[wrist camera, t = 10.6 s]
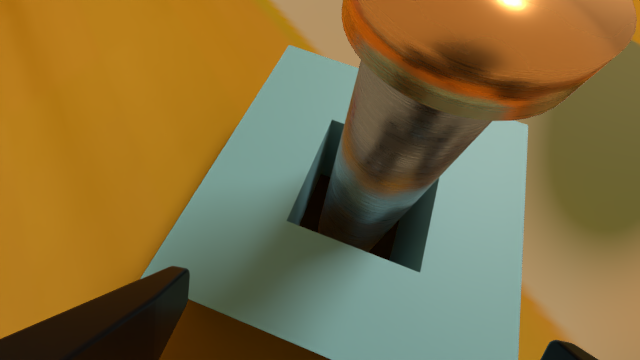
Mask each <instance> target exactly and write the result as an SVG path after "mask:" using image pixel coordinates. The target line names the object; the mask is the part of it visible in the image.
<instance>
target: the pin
mask: <svg viewBox="0 0 640 360" xmlns="http://www.w3.org/2000/svg"><path fill="white" fill-rule="evenodd" d="M636 21H637V20H636V11H635V7H634V4H633V1H632V0H343V4H342V22H343V27H344V31H345V33H346V36H347V38H348V41H349V42H350V44H351V46H352V47H353V49H354V51H355V53H356V54H357V55H358V56H359V58H360V59H361V63H360V66H359V70H358V74H357V78H356V82H355V85H354V89H353V93H352V97H351V101H350V105H349V108H348V112H347V116H346V120H345V124H344V128H343V132H342V135H341V139H340V143H339V147H338V151H337V155H336V159H335V162H334V166H333V170H332V174H331V178H330V182H329V186H328V189H327V193H326V197H325V201H324V205H323V209H322V212H321V216H320V220H319V228H318V229H319V234H322V235H324V236H327V237H329V238H332V239H335V240H337V241H340V242H342V243H345V244H347V245H350V246H353V247H355V248H358V249H360V250H363V251H365V252H369V251H370V250H371V249H372V248H373V247H374V246H375V245H376V243H377V242H378V241H379V240H380V239H381V238H382V237H383V236H384V235H385V234H386V233H387V232H388V231H389V230H390V229H391V228H392V227H393V226H394V224H395V223H396V222H397V221H398V220H399V219H400V218H401V217H402V216H403V215H404V214H405V213H406V212H407V211H408V210H409V209H410V208H411V207H412V205H413V204H414V203H415V202H416V201H417V200H418V199H419V198H420V197H421V196H422V195H423V194H424V193H425V192H426V191H427V190H428V189H429V188H430V186H431V185H432V184H433V183H434V182H435V181H436V180H437V179H438V178H439V177H440V176H441V175H442V174H443V173H444V172H445V171H446V170H447V169H448V167H449V166H450V165H451V164H452V163H453V162H454V161H455V160H456V159H457V158H458V157H459V156H460V155H461V154H462V153H463V152H464V151H465V150H466V148H467V147H468V146H469V145H470V144H471V143H472V142H473V141H474V140H475V139H476V138H477V137H478V136H479V135H480V134H481V133H482V132H483V131H484V129H485V128H486V127H487V126H488V125H489V124H490V123H491V122H492V121H513V120H519V119H526V118H530V117H533V116H537V115H540V114H543V113H545V112H547V111H549V110H551V109H553V108H555V107H556V106H557V105H558V104H560V103H561V102H563V101H564V100H565V99H566V98H567V97H568V96H570V95H571V94H572V93H573V92H574V91H576V90H577V89H578V88H579V87H580V86H582V85H583V84H584V83H585V82H586V81H587V80H589V79H590V78H591V77H592V76H593V75H594V74H596V73H597V72H598V71H599V70H600V69H601V68H603V67H604V66H605V65H606V64H607V63H608V62H610V61H611V60H612V59H613V58H614V57H615V56H617V55H618V54H619V53H620V52H621V51H622V50H623V49H624V48H625V47H626V46H627V45H628V44H629V42H630V41H631V39H632V37H633V35H634V32H635V28H636Z"/></svg>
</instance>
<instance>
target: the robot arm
mask: <svg viewBox="0 0 640 360" xmlns="http://www.w3.org/2000/svg"><path fill="white" fill-rule="evenodd" d="M189 280H190V272H189V270H188V269H187V268H183V267H178V266H170V267H168V268H165V269H163V270H161V271H158V272H156V273H154V274H151V275H149V276H147V277H144V278H142V279H140V280H137V281H135V282H133V283H130V284H128V285H126V286H123V287H121V288H119V289H116V290H114V291H112V292H109V293H107V294H105V295H102V296H100V297H97V298H95V299H93V300H90V301H88V302H86V303H83V304H81V305H79V306H76V307H74V308H72V309H69V310H67V311H65V312H62V313H60V314H58V315H55V316H53V317H51V318H48V319H46V320H44V321H41V322H39V323H37V324H34V325H32V326H30V327H27V328H25V329H23V330H20V331H18V332H16V333H13V334H11V335H9V336H6V337H4V338H2V339H0V360H159V358H160V356H161V354H162V352H163V350H164V348H165V346H166V344H167V342H168V340H169V338H170V336H171V334H172V332H173V330H174V328H175V326H176V324H177V322H178V321H179V319H180V317H181V315H182V313H183V311H184V309H185V307H186V304H187V301H188V294H189ZM541 360H598V359H596V358H595V357H593V356H592V355H590V354H589V353H587V352H585V351H584V350H582V349H581V348H579V347H578V346H576V345H574V344H572V343H569V342H564V341H559V340H553V341H551V342H550V343H549V344H548V346H547V348H546V350H545V352H544V354H543V356H542V358H541Z"/></svg>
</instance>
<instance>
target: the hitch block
mask: <svg viewBox="0 0 640 360" xmlns="http://www.w3.org/2000/svg"><path fill="white" fill-rule="evenodd" d="M358 70H359V68H356V67H353V66H350V65H347V64H344V63H341V62H338V61H335V60H332V59H329V58H326V57H323V56H320V55H317V54H314V53H311V52H308V51H305V50H303V49H300V48H297V47H294V46H291V45H289V46H288V48H287V49H286V51H285V52H284V54H283V55H282V57H281V59H280V60H279V62H278V63H277V65H276V66H275V68H274V70H273V71H272V73H271V74H270V76H269V77H268V79H267V81H266V82H265V84H264V85H263V87H262V88H261V90H260V92H259V93H258V95H257V96H256V98H255V99H254V101H253V102H252V104H251V106H250V107H249V109H248V110H247V112H246V113H245V115H244V117H243V118H242V120H241V121H240V123H239V124H238V126H237V128H236V129H235V131H234V132H233V134H232V135H231V137H230V139H229V140H228V142H227V143H226V145H225V146H224V148H223V150H222V151H221V153H220V154H219V156H218V157H217V159H216V161H215V162H214V164H213V165H212V167H211V168H210V170H209V172H208V173H207V175H206V176H205V178H204V179H203V181H202V183H201V184H200V186H199V187H198V189H197V190H196V192H195V194H194V195H193V197H192V198H191V200H190V201H189V203H188V204H187V206H186V208H185V209H184V211H183V212H182V214H181V215H180V217H179V219H178V220H177V222H176V223H175V225H174V226H173V228H172V230H171V231H170V233H169V234H168V236H167V237H166V239H165V241H164V242H163V244H162V245H161V247H160V248H159V250H158V252H157V253H156V255H155V256H154V258H153V259H152V261H151V263H150V264H149V266H148V267H147V269H146V270H145V272H144V274H143V275H142V277H141V278H140V279H142V278H144V277H147V276H149V275H151V274H154V273H156V272H158V271H161V270H163V269H165V268H168V267H170V266H178V267H183V268H187V269H188V270H189V272H190V280H189V294H188V299H190V300H192V301H194V302H197V303H199V304H201V305H204V306H206V307H209V308H211V309H213V310H216V311H218V312H220V313H223V314H225V315H227V316H230V317H232V318H235V319H237V320H239V321H242V322H244V323H246V324H249V325H251V326H253V327H256V328H258V329H260V330H263V331H265V332H268V333H270V334H272V335H275V336H277V337H279V338H282V339H284V340H286V341H289V342H291V343H294V344H296V345H298V346H301V347H303V348H305V349H308V350H310V351H312V352H315V353H317V354H319V355H322V356H324V357H327V358H329V359H331V360H518V348H519V325H520V302H521V278H522V255H523V254H522V253H523V231H524V208H525V185H526V161H527V138H528V125H526V124H523V123H519V122H517V121H514V120H513V121H492V122H491V123H490V124H489V125H488V126H487V127H486V128H485V129H484V131H483V132H482V133H481V134H480V135H479V136H478V137H477V138H476V139H475V140H474V141H473V142H472V143H471V144H470V145H469V146H468V147H467V148H466V150H465V151H464V152H463V153H462V154H461V155H460V156H459V157H458V158H457V159H456V160H455V161H454V162H453V163H452V164H451V165H450V166H449V167H448V169H447V170H446V171H445V172H444V173H443V174H442V175H441V176H440V177H439V178H438V179H437V180H436V181H435V182H434V183H433V184H432V185H431V186H430V188H429V189H428V190H427V191H426V192H425V193H424V194H423V195H422V196H421V197H420V198H419V199H418V200H417V201H416V202H415V203H414V204H413V205H412V207H411V208H410V209H409V210H408V211H407V212H406V213H405V214H404V215H403V216H402V217H401V218H400V220H399V224H398V227H397V231H396V235H395V239H394V243H393V247H392V251H391V255H390V259H389V260H386V259H383V258H381V257H378V256H376V255H373V254H371V253H368V252H365V251H363V250H360V249H358V248H355V247H353V246H350V245H347V244H345V243H342V242H340V241H337V240H335V239H332V238H329V237H327V236H324V235H322V234H319V233H317V232H314V231H311V230H309V229H306V228H304V227H301V226H299V225H300V223H301V220H302V218H303V215H304V213H305V211H306V208H307V206H308V204H309V201H310V199H311V197H312V194H313V192H314V190H315V187H316V185H317V183H318V180H319V178H320V175H321V174H323V175H325V176H328V177H331V174H332V170H333V166H334V162H335V159H336V155H337V151H338V147H339V143H340V139H341V135H342V132H343V128H344V124H345V120H346V116H347V112H348V108H349V105H350V101H351V97H352V93H353V89H354V85H355V82H356V78H357V74H358Z"/></svg>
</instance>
